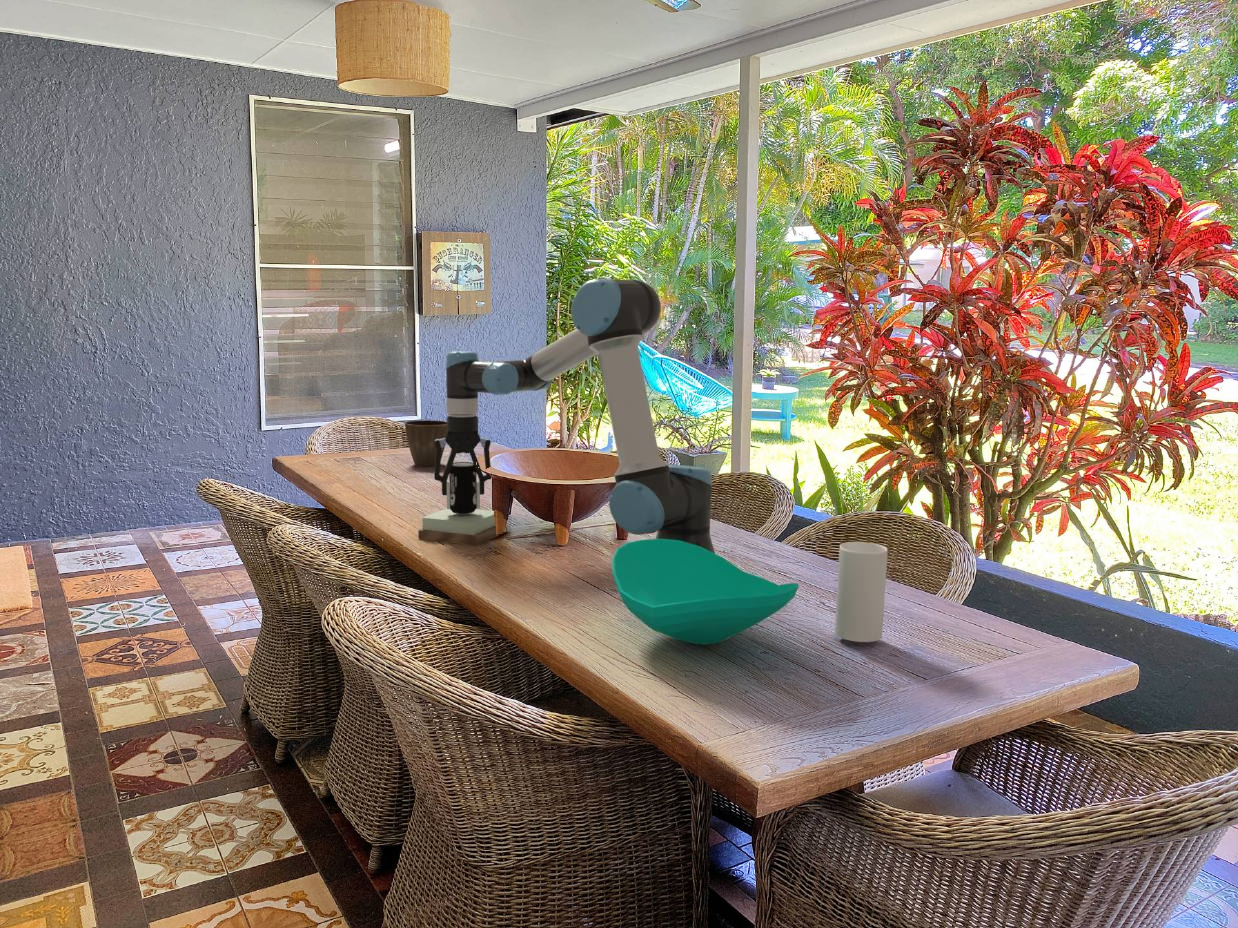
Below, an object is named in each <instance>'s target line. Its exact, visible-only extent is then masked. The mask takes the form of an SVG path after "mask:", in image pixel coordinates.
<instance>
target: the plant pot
mask: <svg viewBox="0 0 1238 928" xmlns="http://www.w3.org/2000/svg"><path fill="white" fill-rule="evenodd" d="M404 426H405V434H406V439H407V445H408V447H409V451H410V454H411V458H412V461H413V463H414V466H416V467H419V468H435V462H436V451H437V449H436V446H435V440H436V439H443V438H445V437H446V435H447V421H444V420H431V419H430V420H428V419H426V420H424V419H423V420H409V421H405V422H404ZM446 444H447V442H445V443H444V447H443V448H441V449H442V452H441V459H442V458H443V454H444V451H445V448H446Z"/></svg>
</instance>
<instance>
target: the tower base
mask: <svg viewBox="0 0 1238 928" xmlns="http://www.w3.org/2000/svg"><path fill="white" fill-rule="evenodd" d="M506 530H507V531H508V526H507V527H506ZM417 533H418V539H419V540H427V541H428V540H429V541H438V542H446V543H453V544H461V545H469V546H475V545H476V546H475V547H478V546H479V545H482V544H484V543H486V542H488V541H491V540H492V539H494V538H496V537H495V536H496V526H493V527H491V528H489V529H486V530H484V531H482V532H480V533H477V534H475V535H468V534H458V533H449V532H440V531H431V530H423V528H421V529H418V531H417ZM485 541H486V542H485Z"/></svg>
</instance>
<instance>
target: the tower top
mask: <svg viewBox="0 0 1238 928" xmlns="http://www.w3.org/2000/svg"><path fill="white" fill-rule="evenodd" d="M494 511H495V510H487V509H476V510H475V511H474V512H473V513H467V514H458V513H453V512H452V511H451V510H450V509H447V508H445V509H442V510H438V511H437V512H433V513H431V514H429V515H426V516H423V517H422V521H421V522H422V529H423V530H431V531H440V532H449V533H458V534H468V535H475V534H477V533H480V532H482V531H484V530H486V529H489V528H491V527H493V526H495V517H494Z"/></svg>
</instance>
